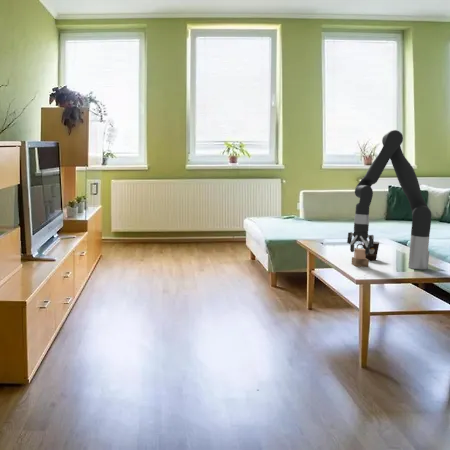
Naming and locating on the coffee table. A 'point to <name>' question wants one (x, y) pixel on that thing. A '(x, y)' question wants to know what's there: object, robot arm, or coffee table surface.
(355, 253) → the terracotta cube
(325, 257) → the coffee table surface
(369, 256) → the coffee mug
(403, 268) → the coffee table surface
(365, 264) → the walnut box
